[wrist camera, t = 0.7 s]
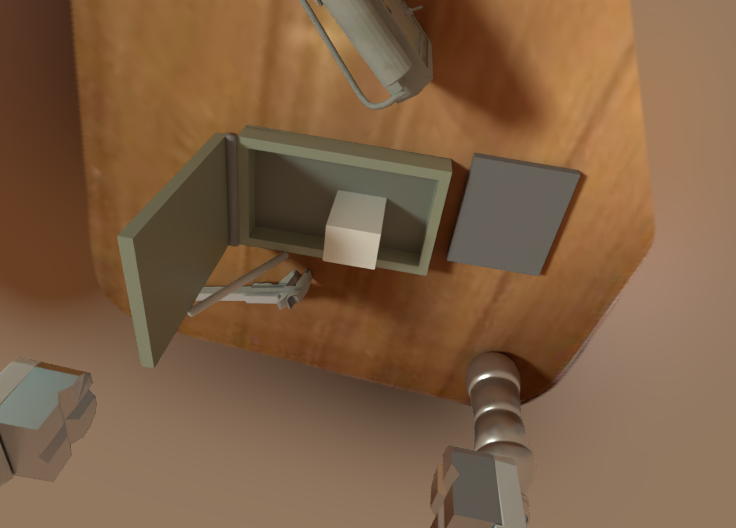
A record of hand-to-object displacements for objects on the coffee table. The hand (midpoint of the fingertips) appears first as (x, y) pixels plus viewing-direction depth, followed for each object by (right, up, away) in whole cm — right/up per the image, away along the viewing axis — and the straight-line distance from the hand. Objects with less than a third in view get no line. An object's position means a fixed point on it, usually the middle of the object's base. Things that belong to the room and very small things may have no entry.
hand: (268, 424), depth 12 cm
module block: (+1, +9, +41) cm, 42 cm away
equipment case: (-1, +10, +41) cm, 43 cm away
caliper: (-14, +2, +50) cm, 52 cm away
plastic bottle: (+18, -9, +53) cm, 56 cm away
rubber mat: (+17, +9, +40) cm, 44 cm away
